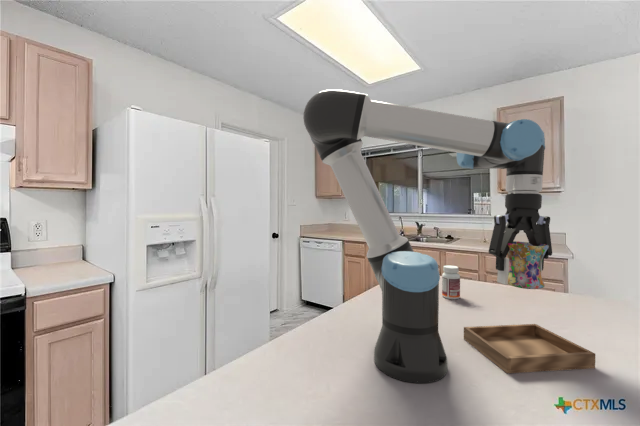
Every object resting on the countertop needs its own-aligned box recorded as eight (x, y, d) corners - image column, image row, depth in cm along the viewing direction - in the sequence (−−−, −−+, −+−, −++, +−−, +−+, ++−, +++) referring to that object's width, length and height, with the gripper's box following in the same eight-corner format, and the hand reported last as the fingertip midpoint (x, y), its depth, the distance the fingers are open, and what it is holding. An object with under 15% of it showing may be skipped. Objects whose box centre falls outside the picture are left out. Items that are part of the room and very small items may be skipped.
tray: (507, 373, 61) (507, 358, 61) (463, 339, 76) (463, 327, 76) (595, 368, 62) (595, 353, 62) (535, 335, 78) (535, 323, 78)
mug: (556, 290, 71) (558, 245, 71) (528, 293, 68) (530, 246, 67) (509, 278, 82) (510, 239, 82) (483, 280, 79) (485, 240, 79)
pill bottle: (462, 297, 111) (462, 266, 110) (456, 300, 106) (456, 269, 106) (446, 293, 115) (446, 264, 115) (439, 297, 111) (439, 266, 110)
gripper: (495, 191, 69) (490, 288, 70) (575, 194, 72) (570, 287, 73) (474, 192, 77) (470, 279, 77) (547, 194, 79) (543, 279, 80)
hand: (518, 283), depth 75 cm, fingers closed on mug, 8 cm apart
